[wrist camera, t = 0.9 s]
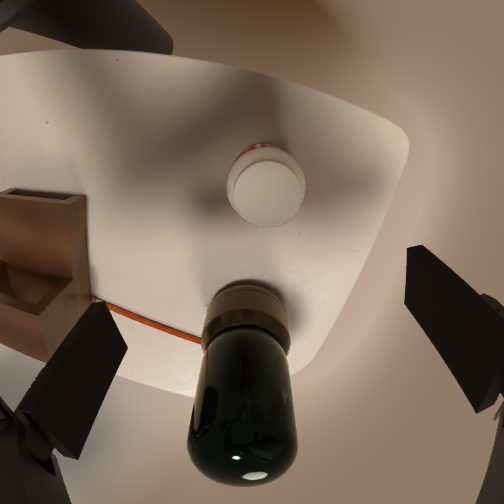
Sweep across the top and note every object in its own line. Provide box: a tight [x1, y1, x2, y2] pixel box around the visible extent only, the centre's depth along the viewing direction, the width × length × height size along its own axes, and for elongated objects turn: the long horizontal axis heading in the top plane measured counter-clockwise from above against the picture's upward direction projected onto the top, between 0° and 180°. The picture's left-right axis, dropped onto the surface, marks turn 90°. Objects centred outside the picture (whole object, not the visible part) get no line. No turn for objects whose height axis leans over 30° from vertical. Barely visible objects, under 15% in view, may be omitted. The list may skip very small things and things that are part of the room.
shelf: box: [0, 189, 92, 363], centre depth 28 cm, size 16×14×12 cm
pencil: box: [92, 297, 201, 344], centre depth 37 cm, size 1×18×1 cm, turn 69°
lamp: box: [187, 285, 298, 487], centre depth 26 cm, size 10×10×22 cm
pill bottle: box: [227, 144, 306, 228], centre depth 25 cm, size 6×6×11 cm
